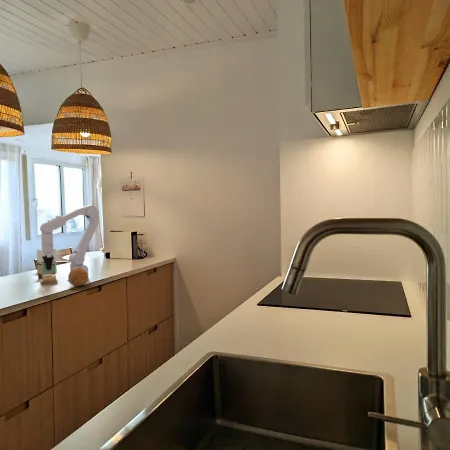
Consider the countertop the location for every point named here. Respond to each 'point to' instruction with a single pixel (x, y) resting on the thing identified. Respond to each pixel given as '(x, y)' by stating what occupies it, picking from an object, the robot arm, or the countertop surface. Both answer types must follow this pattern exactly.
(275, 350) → the countertop surface
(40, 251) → the supplement box
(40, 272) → the food container
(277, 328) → the countertop surface
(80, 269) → the onion
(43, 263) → the green cube
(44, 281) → the walnut slab
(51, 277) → the oak slab
